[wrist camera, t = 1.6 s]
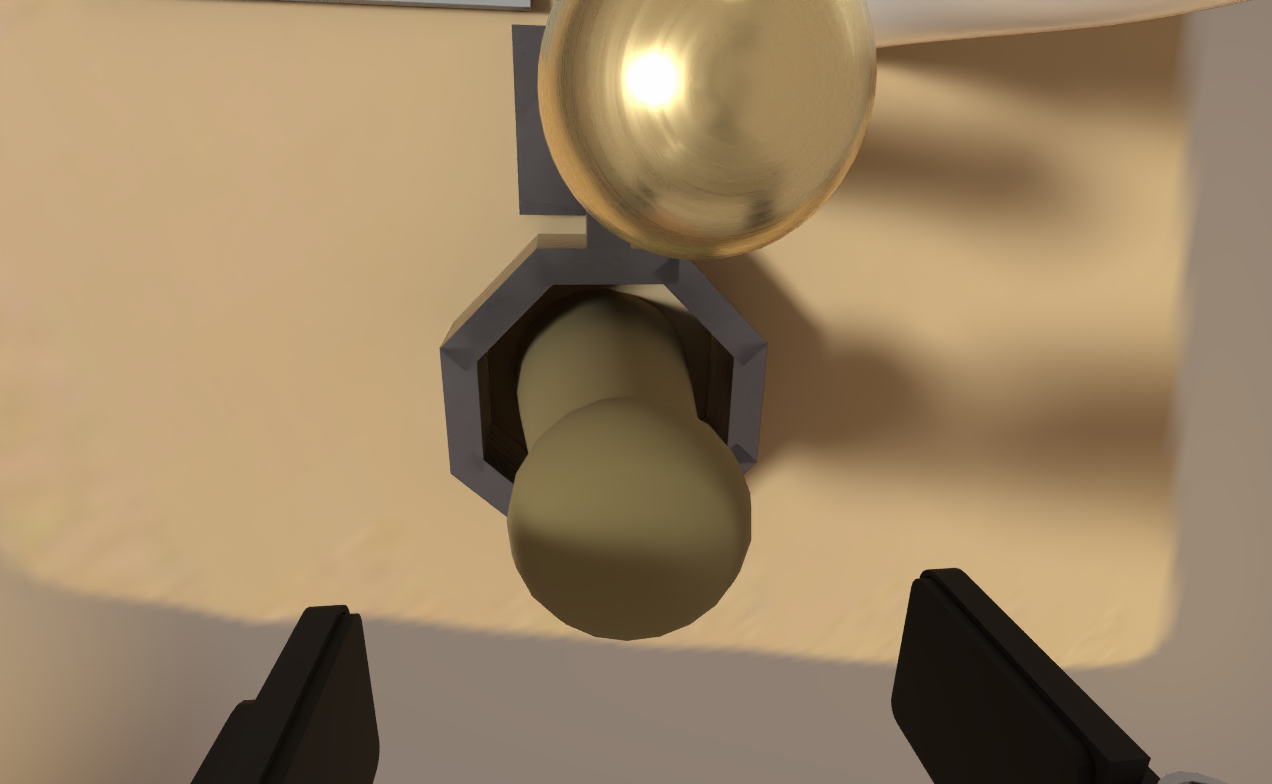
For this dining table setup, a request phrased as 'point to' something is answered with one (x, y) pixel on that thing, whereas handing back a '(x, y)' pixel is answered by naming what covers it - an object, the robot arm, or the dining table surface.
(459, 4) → the mat
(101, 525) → the dining table surface
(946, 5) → the drinking glass
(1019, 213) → the dining table surface
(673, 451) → the olive rounded tall piece
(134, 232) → the dining table surface
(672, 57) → the ring stand
